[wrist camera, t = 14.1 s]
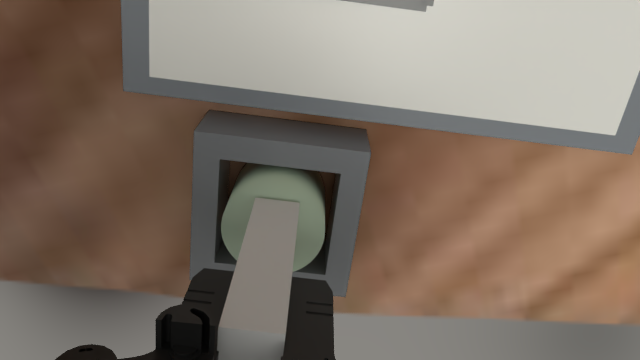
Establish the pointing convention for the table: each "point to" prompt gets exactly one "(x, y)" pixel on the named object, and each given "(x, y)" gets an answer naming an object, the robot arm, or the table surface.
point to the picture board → (403, 62)
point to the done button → (282, 187)
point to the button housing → (286, 151)
